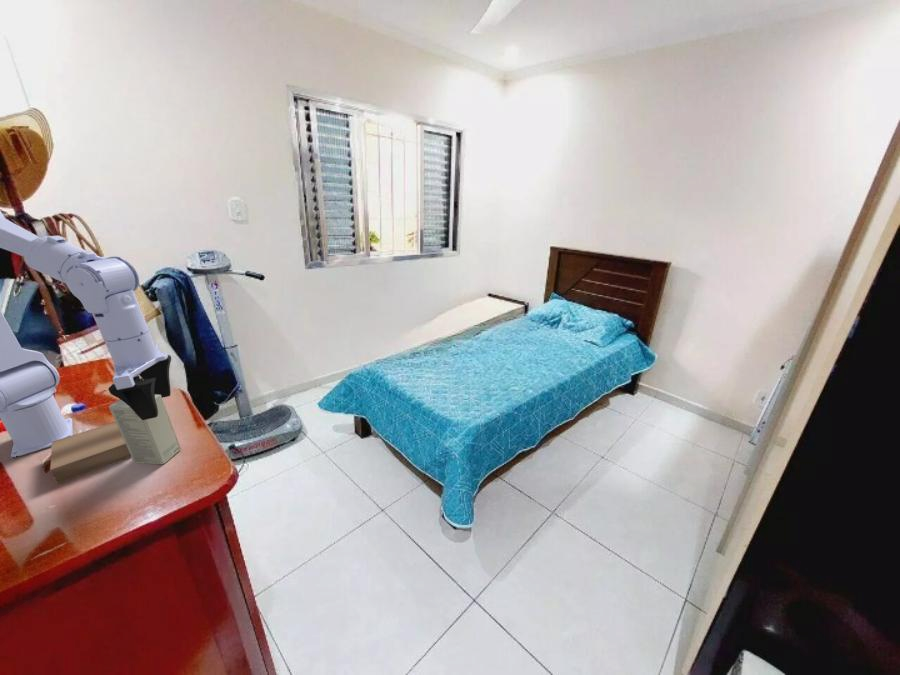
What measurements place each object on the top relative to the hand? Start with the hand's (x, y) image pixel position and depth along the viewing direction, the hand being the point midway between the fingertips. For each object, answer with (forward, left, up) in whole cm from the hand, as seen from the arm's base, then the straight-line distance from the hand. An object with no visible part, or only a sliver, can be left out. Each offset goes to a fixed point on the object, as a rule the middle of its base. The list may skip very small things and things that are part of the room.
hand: (157, 406), depth 63 cm
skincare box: (-1, -2, -11) cm, 11 cm away
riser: (-9, -10, -10) cm, 17 cm away
